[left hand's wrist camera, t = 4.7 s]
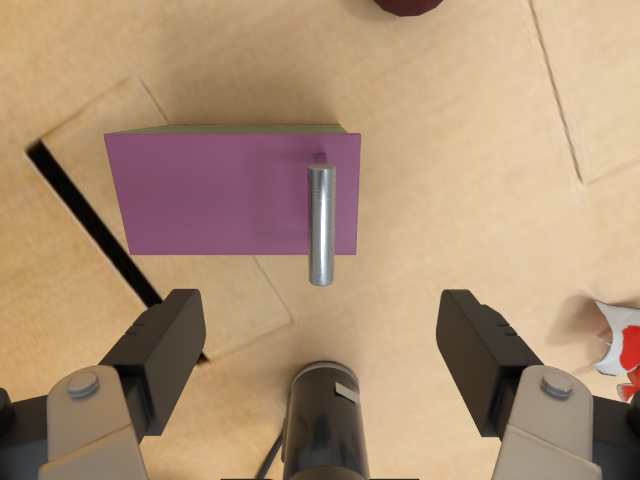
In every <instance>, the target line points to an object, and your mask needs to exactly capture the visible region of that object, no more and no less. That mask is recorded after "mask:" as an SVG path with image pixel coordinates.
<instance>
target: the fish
mask: <svg viewBox="0 0 640 480" xmlns="http://www.w3.org/2000/svg"><path fill="white" fill-rule="evenodd" d="M594 301H595V303H596V304H597V306H598V307H599V309H600V310H601V312H602V313H603V314H604V316H605V317H606V319H607V321H608V323H609V325H610V328H611V330H612V333H613V338H612V344H611V343H608V342H606V341H604V340H602V339H600V338H598V339H600V340H601V341H603V342H604V343H606V344H607V345H609V346H610V347H609V349H608V351H607V353H606V354H605V356H604V357H603V358H602V359H601V361H600V362H598V363H597V364H595V365H593V367H594V368H595V369H596V370H598V371H599V372H600V373H601V374H604V375H611V376H619V375H623V374H626V373H627V376H628V378H629V380H630V381H631V383H625V384H619V385H617V391H618V395H619V396H620V398H621V399H622V401H623V402H624V403H626V402H627V401H628V399H629V398H630V397H631V396H632V395H633V394H634V393H635V392H636V391H637V390H639V389H640V308H631V307H622V306H613V305H607V304H604V303H602V302H599V301H596V300H594Z"/></svg>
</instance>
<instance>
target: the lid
mask: <svg viewBox="0 0 640 480" xmlns="http://www.w3.org/2000/svg"><path fill="white" fill-rule="evenodd" d="M104 139H105V144H106V148H107V153H108V157H109V162H110V166H111V171H112V175H113V180H114V184H115V189H116V193H117V198H118V202H119V206H120V211H121V215H122V220H123V224H124V229H125V233H126V238H127V242H128V247H129V251H130V255H309V281H310V283H311V284H313V285H316V286H327V285H330V284H331V283H333V281H334V255H356V240H357V216H358V192H359V169H360V145H361V134H360V133H108V134H104Z"/></svg>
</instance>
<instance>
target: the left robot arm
mask: <svg viewBox="0 0 640 480" xmlns="http://www.w3.org/2000/svg"><path fill="white" fill-rule="evenodd" d="M205 338H206V328H205V321H204V314H203V307H202V301H201V294H200V292H199V290H198V289H173V290H172V291H171V292H170V294H169V295H168V296H167V297H166V299H165V300H164V301H163V302H162V304H155V305H154V306H152V307H151V308H149V309H148V310H146V311H144V312H143V313H142V314H141V315H140V316H139V317H138V318H137V319H136V321H135V322H134V323H133V326H130V328H129V329H128V330H127V331H126V332H125V335H123V336H122V337H121V338H120V339H119V341H118V342H117V343H116V344H115V345H114V346H113V348H112V349H111V350H110V351H109V352H108V353H107V355H106V356H105V357H104V358H103V359H102V360H101V362H100V363H99V364H98V365H96V366H90V367H86V368H83V369H80V370H78V371H75V372H73V373H71V374H70V375H68V376H66V377H65V378H63V379H62V380H60V381H59V382H58V383H57V384H56V385H55V386H54V387H53V388H52V389H51V391H50V392H49V394H48V395H44V396H40V397H36V398H31V399H27V400H22V401H18V402H13V403H11V400H10V398H9V396H8V394H7V391H6V390H5V389H3V388H0V480H149V479H148V475H147V472H146V468H145V465H144V461H143V458H142V454H141V451H140V447H139V445H140V443H141V441H142V439H143V437H144V436H161V434H162V432H163V430H164V428H165V426H166V424H167V422H168V420H169V418H170V416H171V414H172V412H173V410H174V407H175V405H176V403H177V401H178V399H179V397H180V395H181V393H182V391H183V389H184V387H185V385H186V382H187V380H188V378H189V376H190V374H191V372H192V370H193V368H194V366H195V364H196V362H197V360H198V358H199V355H200V353H201V351H202V349H203V347H204V343H205ZM436 340H437V345H438V348H439V350H440V352H441V354H442V357H443V359H444V361H445V363H446V365H447V367H448V369H449V371H450V373H451V375H452V377H453V379H454V381H455V383H456V385H457V387H458V389H459V391H460V393H461V396H462V398H463V400H464V402H465V404H466V406H467V408H468V410H469V412H470V414H471V416H472V418H473V420H474V422H475V424H476V426H477V428H478V430H479V433H480V435H481V437H499V439H500V441H501V443H502V444H501V447H500V451H499V454H498V458H497V461H496V465H495V468H494V472H493V475H492V479H491V480H640V389H639V390H637V391H636V392H635V393H634V396H633V398H632V400H631V402H630V404H629V403H624V402H620V401H615V400H611V399H606V398H602V397H598V396H594V395H592V394H591V392H590V391H589V389H588V388H587V387H586V386H585V385H584V384H583V383H582V382H581V381H580V380H578V379H577V378H575V377H574V376H572V375H570V374H569V373H567V372H565V371H562V370H560V369H557V368H554V367H550V366H545V365H544V364H543V363H542V362H541V360H540V359H539V358H538V357H537V356H536V355H535V353H534V352H533V351H532V350H531V349H530V348H529V347H528V345H527V344H526V343H525V342H524V341H523V340H522V338H521V337H520V336H517V333H516V331H515V330H514V329H513V328H512V327H510V325H509V323H508V322H507V321H506V320H505V319H504V318H503V316H502V315H501V314H500V313H498V312H497V311H495V310H494V309H492V308H490V307H489V306H487V305H481V304H480V303H479V302H478V300H477V299H476V298H475V297H474V295H473V294H472V293H471V292H470V291H469V290H467V289H445V290H443V292H442V294H441V300H440V307H439V313H438V320H437V327H436ZM281 445H282V452H281V460H282V462H283V463H284V471H283V480H419V479H370V472H369V464H368V457H367V449H366V442H365V435H364V427H363V420H362V412H361V405H360V398H359V384H358V381H357V378H356V377H355V375H354V374H353V373H352V372H351V371H350V370H349V369H348V368H346V367H344V366H343V365H340V364H337V363H333V362H317V363H313V364H310V365H308V366H306V367H304V368H302V369H301V370H300V371H299V372H298V373H297V374H296V375H295V377H294V379H293V381H292V385H291V393H290V394H289V395H288V398H287V407H286V416H285V418H284V425H283V433H282V436H280V437H279V439H278V440H277V441H276V443H275V445H274V446H273V448H272V450H271V452H270V454H269V456H268V458H267V460H266V462H265V464H264V466H263V468H262V470H261V472H260V474H259V476H258V478H257V479H221V480H272V479H264V477H265V475H266V473H267V471H268V470H269V468H270V466H271V464H272V462H273V460H274V458H275V456H276V454H277V452H278V450H279V448H280V447H281Z"/></svg>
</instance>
